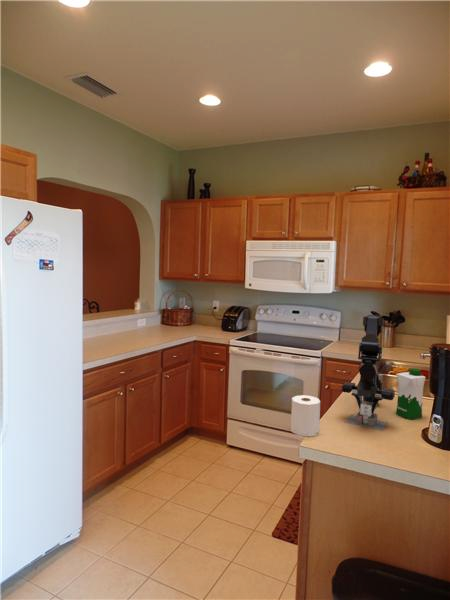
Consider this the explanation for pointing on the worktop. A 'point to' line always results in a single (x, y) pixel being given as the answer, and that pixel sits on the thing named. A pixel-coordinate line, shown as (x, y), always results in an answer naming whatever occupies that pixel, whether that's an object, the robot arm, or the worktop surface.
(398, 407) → the milk carton
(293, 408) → the toilet paper
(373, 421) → the stand
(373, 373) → the robot arm
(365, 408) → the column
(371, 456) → the worktop surface
